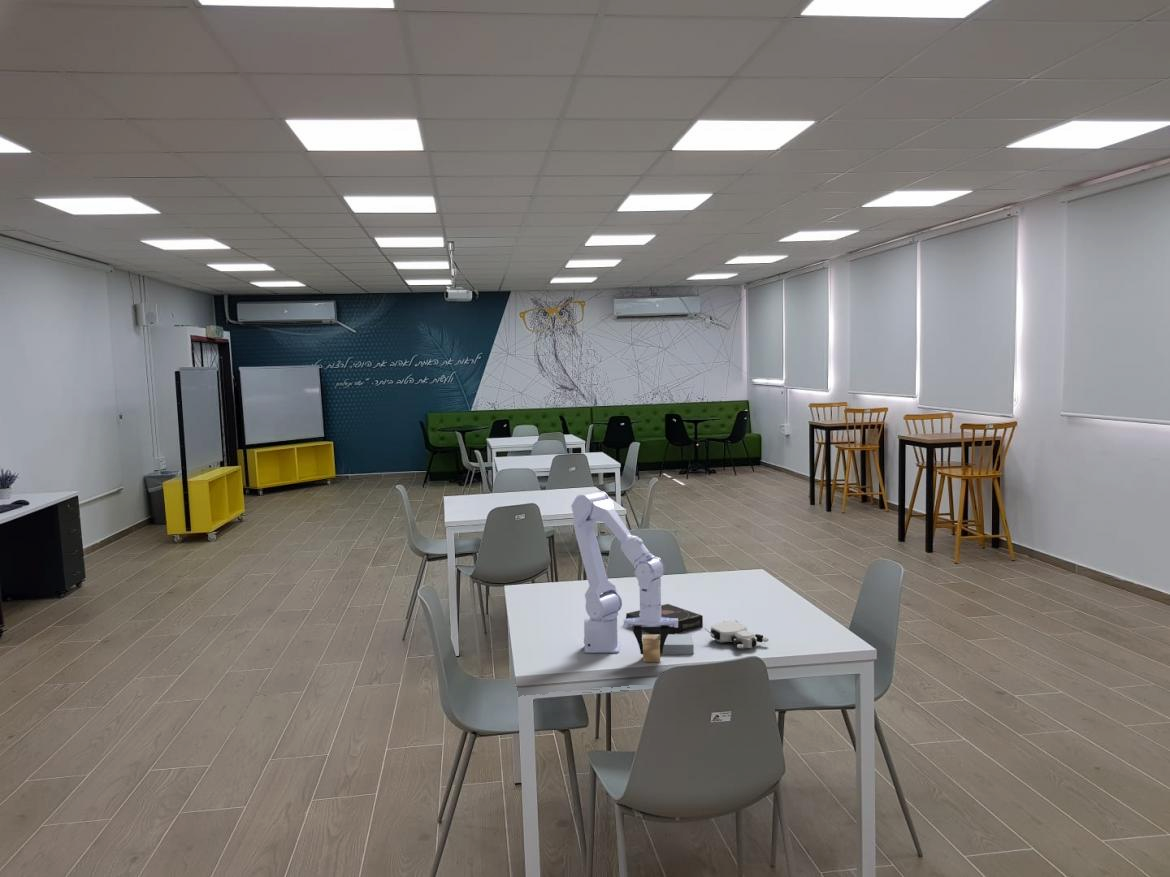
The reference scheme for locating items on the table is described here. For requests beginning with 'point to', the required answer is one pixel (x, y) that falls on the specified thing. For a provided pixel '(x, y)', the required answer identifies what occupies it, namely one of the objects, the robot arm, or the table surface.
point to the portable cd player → (685, 617)
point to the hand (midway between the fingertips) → (651, 653)
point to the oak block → (651, 648)
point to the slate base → (678, 644)
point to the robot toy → (735, 634)
